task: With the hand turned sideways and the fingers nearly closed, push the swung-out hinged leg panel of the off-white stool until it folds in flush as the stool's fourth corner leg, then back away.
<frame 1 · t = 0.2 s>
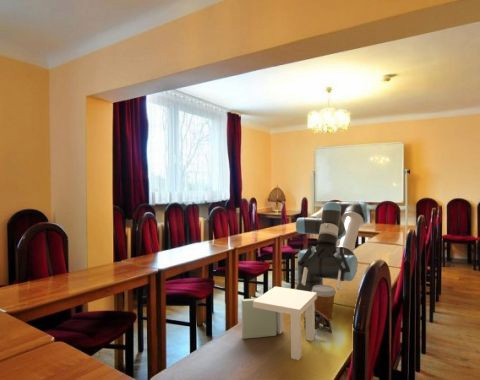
hand: (320, 286, 124), 15 cm above the table, tool tilted 35°, fingers open, 13 cm apart
stool: (286, 343, 111), on the table
brown curved piece: (317, 330, 121), on the table
disposable coffee cup: (323, 317, 132), on the table
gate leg: (260, 317, 116), point 7 cm above the table, hinge at -50.0°
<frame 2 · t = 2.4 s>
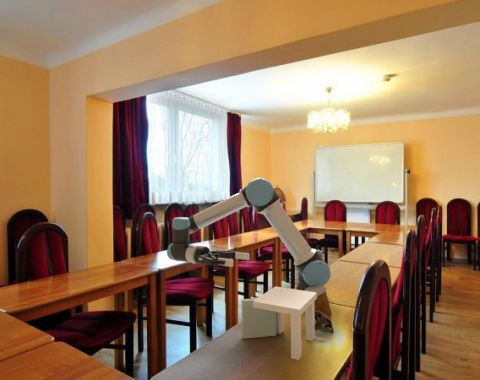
hand: (241, 259, 130), 24 cm above the table, tool horizontal, fingers open, 13 cm apart
disposable coffee cup: (324, 316, 132), on the table, touching arm
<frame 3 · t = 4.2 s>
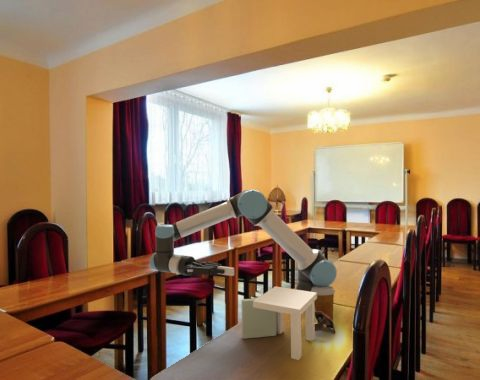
hand: (233, 271, 119), 22 cm above the table, tool horizontal, fingers closed
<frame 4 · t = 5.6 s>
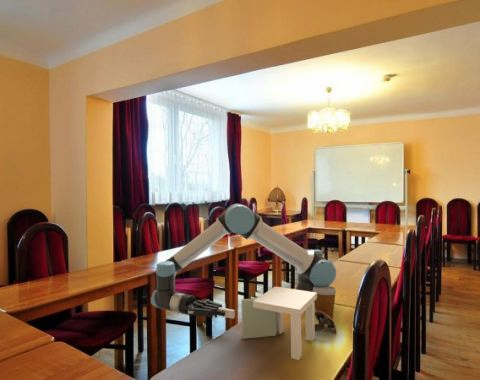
hand: (233, 314, 120), 7 cm above the table, tool horizontal, fingers closed
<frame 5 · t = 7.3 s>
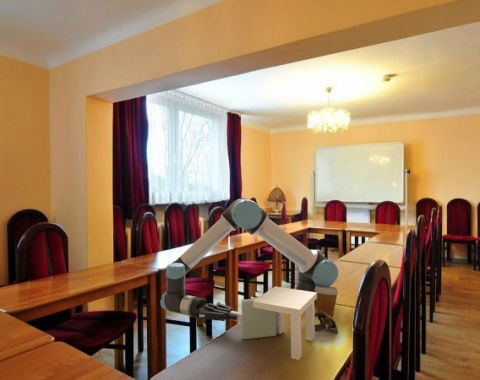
hand: (246, 318, 116), 6 cm above the table, tool horizontal, fingers closed
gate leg: (260, 317, 116), point 7 cm above the table, hinge at -47.9°, touching gripper
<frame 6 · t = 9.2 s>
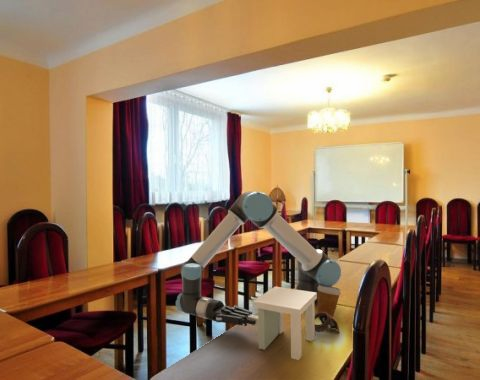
hand: (265, 323, 112), 6 cm above the table, tool horizontal, fingers closed, pressing on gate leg
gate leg: (269, 321, 112), point 7 cm above the table, hinge at 1.8°, touching gripper
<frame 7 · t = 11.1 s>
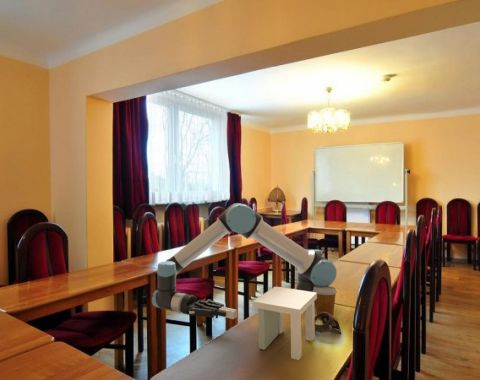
hand: (235, 314, 119), 7 cm above the table, tool horizontal, fingers closed
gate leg: (269, 321, 112), point 7 cm above the table, hinge at 2.0°
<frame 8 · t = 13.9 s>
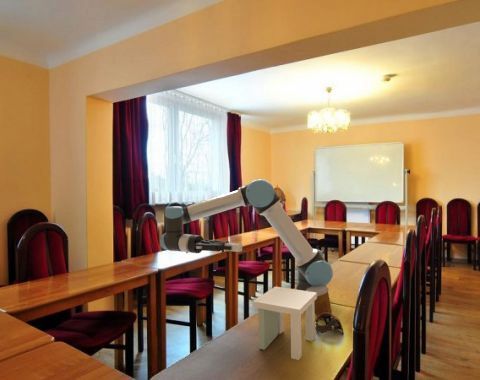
hand: (240, 247, 126), 30 cm above the table, tool horizontal, fingers closed
at the end: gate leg at +2° (first picture: -50°); the gripper is holding nothing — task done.
